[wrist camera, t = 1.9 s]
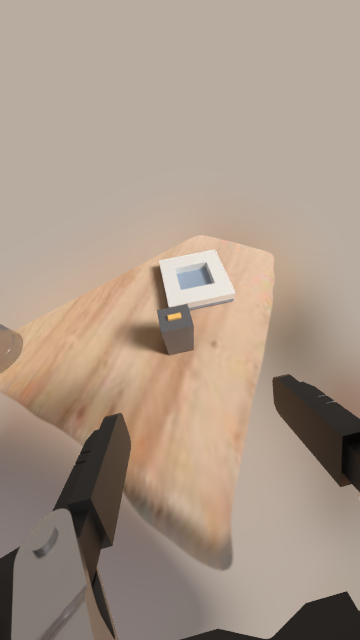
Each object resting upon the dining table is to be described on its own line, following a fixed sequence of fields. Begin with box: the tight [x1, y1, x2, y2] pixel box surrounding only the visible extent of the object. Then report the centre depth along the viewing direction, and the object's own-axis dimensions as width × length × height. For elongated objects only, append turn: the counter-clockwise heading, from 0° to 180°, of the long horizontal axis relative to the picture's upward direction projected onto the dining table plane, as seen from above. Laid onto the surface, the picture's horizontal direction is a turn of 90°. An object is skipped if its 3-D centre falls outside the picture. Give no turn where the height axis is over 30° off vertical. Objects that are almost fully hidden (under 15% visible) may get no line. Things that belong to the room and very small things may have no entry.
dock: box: [159, 250, 236, 310], centre depth 38 cm, size 13×13×2 cm
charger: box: [157, 304, 194, 355], centre depth 28 cm, size 4×4×9 cm
